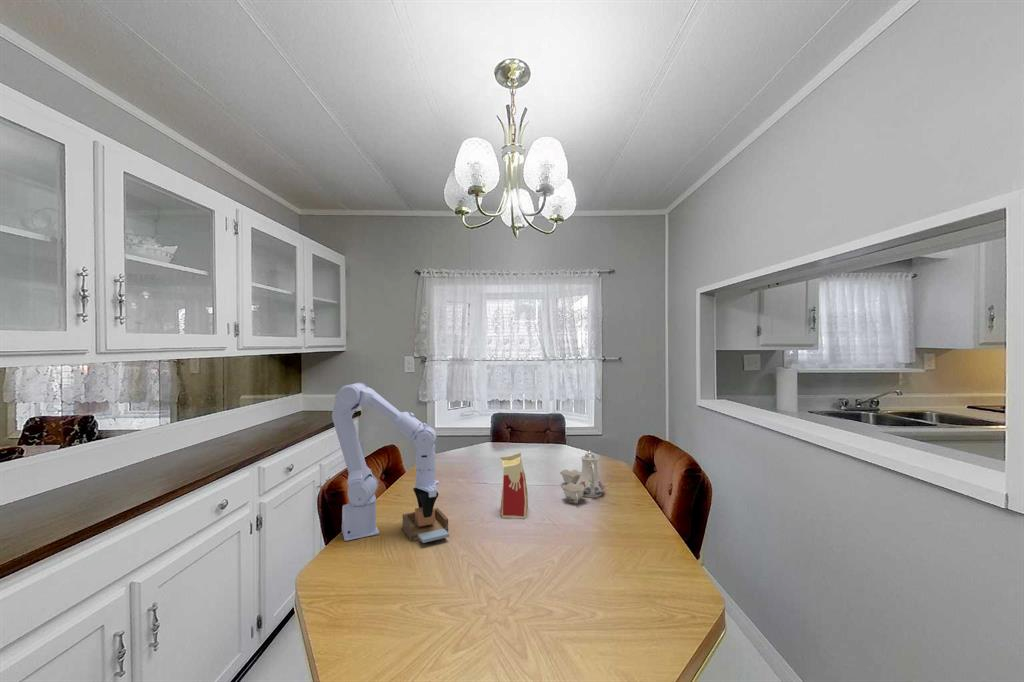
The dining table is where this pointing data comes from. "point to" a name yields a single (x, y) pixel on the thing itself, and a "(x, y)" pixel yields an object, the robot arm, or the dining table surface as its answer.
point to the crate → (414, 530)
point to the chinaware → (583, 480)
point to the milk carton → (514, 488)
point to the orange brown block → (420, 517)
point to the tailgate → (433, 535)
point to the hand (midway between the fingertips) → (425, 514)
